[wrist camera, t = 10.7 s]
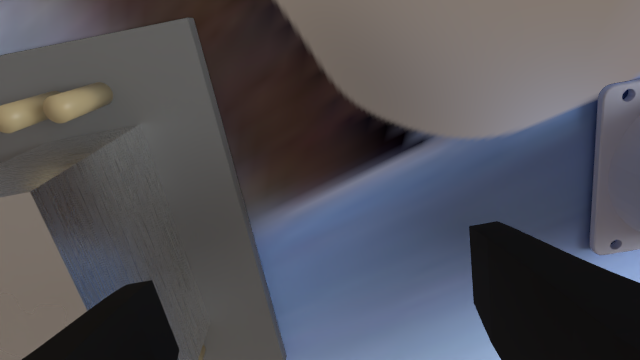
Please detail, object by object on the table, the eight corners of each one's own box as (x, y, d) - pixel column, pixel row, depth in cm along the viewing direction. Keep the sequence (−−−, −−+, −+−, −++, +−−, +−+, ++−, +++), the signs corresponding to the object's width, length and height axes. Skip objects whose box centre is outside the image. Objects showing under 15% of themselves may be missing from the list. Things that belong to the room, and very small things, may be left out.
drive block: (140, 124, 17) (30, 191, 10) (210, 321, 20) (162, 466, 14) (45, 142, 17) (-122, 220, 10) (131, 335, 20) (46, 483, 14)
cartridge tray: (193, 17, 16) (159, 17, 12) (286, 355, 22) (281, 420, 19) (-51, 66, 16) (-150, 80, 13) (105, 384, 23) (67, 452, 19)
